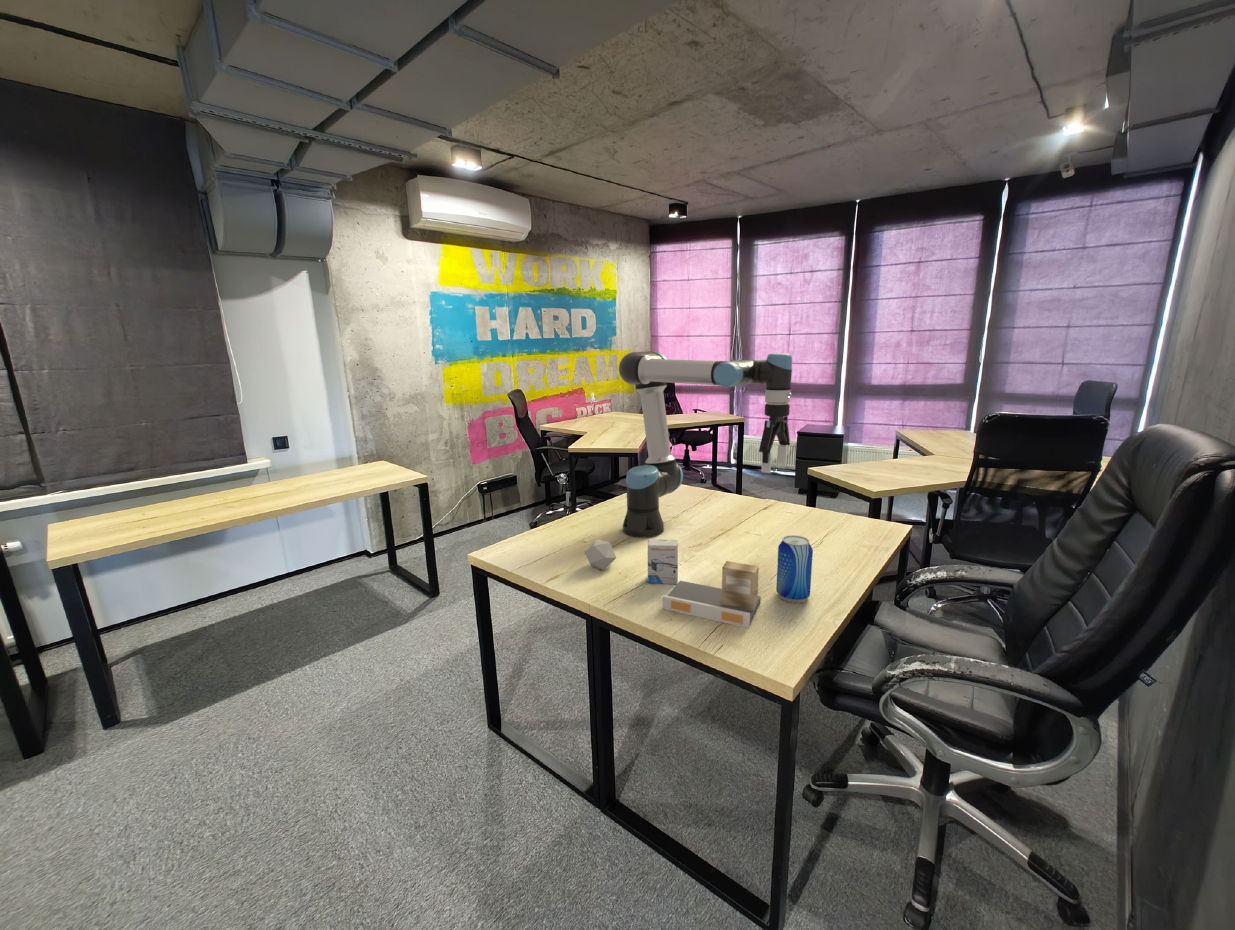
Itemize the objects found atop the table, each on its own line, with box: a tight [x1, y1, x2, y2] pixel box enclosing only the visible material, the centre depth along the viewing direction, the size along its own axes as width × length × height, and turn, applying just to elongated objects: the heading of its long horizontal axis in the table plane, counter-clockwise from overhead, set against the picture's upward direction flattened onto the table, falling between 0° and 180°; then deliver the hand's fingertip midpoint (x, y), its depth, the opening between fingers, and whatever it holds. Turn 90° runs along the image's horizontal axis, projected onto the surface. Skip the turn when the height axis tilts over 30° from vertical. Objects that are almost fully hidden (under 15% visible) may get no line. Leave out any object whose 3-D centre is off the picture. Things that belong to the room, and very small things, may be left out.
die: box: [584, 538, 617, 571], centre depth 152 cm, size 8×9×10 cm
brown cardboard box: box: [721, 560, 760, 611], centre depth 123 cm, size 8×4×10 cm, turn 63°
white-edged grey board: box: [661, 580, 762, 629], centre depth 127 cm, size 22×13×4 cm, turn 63°
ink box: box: [647, 538, 679, 585], centre depth 141 cm, size 9×5×12 cm, turn 84°
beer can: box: [775, 534, 814, 604], centre depth 129 cm, size 8×8×16 cm
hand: (773, 468), depth 162 cm, fingers open, 13 cm apart
